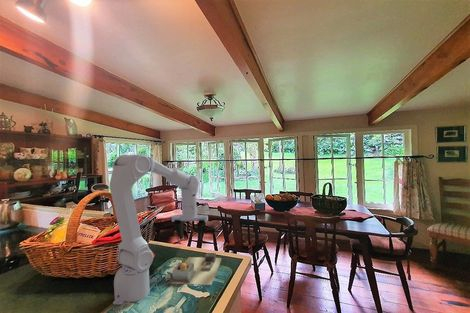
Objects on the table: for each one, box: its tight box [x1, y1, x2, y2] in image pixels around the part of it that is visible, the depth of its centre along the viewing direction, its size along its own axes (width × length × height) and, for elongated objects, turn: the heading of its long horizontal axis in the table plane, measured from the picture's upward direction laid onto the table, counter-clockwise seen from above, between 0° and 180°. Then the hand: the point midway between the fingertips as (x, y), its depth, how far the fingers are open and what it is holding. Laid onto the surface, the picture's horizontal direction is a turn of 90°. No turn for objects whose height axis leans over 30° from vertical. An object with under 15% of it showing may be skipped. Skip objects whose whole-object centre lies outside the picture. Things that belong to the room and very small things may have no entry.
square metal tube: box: [172, 262, 194, 281], centre depth 76 cm, size 6×6×3 cm
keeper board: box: [170, 252, 223, 286], centre depth 81 cm, size 14×18×3 cm
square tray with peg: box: [170, 262, 196, 283], centre depth 76 cm, size 6×6×5 cm
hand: (190, 238), depth 88 cm, fingers open, 7 cm apart
